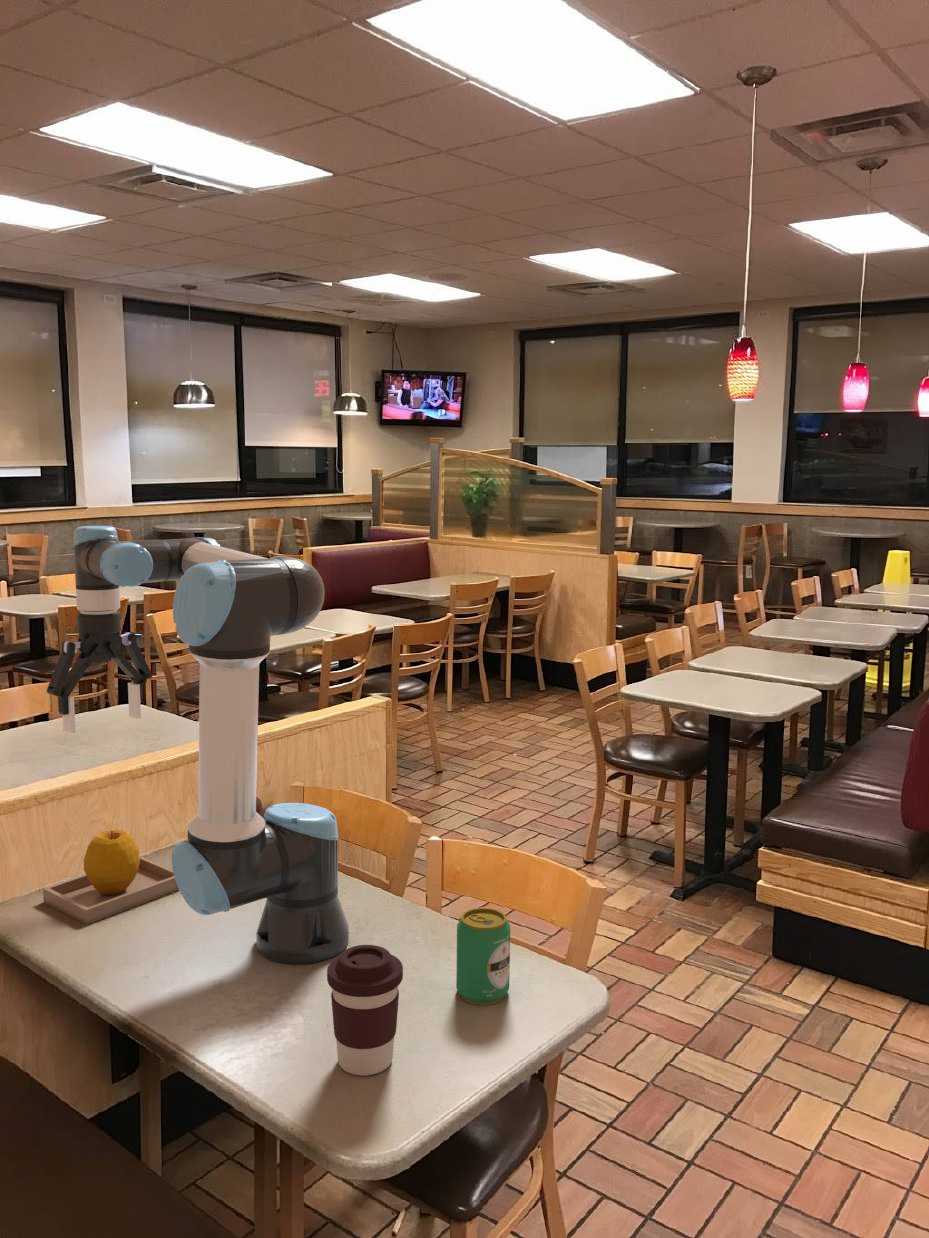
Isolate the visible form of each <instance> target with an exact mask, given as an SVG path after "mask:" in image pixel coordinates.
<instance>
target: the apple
mask: <svg viewBox="0 0 929 1238" xmlns="http://www.w3.org/2000/svg"><path fill="white" fill-rule="evenodd" d="M139 851H140V850H139V847H138V845H137V843H136V841H135V839H134V838H133V837H132V836H131V834H130V833H128V832H127V831H125V830H122V829H121V830H120V829H113V830H104V831H101V832H100V833H97V834H96V835H95V836H94V837H92V839H91V841H90V842H89V845H88V846H87V848H86V851H85V855H84V858H83V870H84V873H85V874H86V875H87V877H88V879H89V881H90V882H91V884H92V885H93V886H94V888H95V889H96V890H97V891H98V892H99V893H101V894H104V895H109V894H116V893H120V892H122V891H124V890H126V889H127V888H128V887H129V885H130V884H131V883H132V881H133V880H134V878H135V876H136V874H137V872H138V868H139V864H140V856H141V855H140V852H139Z"/></svg>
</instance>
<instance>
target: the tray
mask: <svg viewBox="0 0 929 1238" xmlns="http://www.w3.org/2000/svg"><path fill="white" fill-rule="evenodd" d="M139 856H140V864H139V868H138V872H137V874H136V876H135V878H134V880H133V881H132V883H131V884H130V885H129V887H128V888H127V889H126V890H124V891H122V892H120V893H116V894H109V895H104V894H101V893H99V892H98V891H97V890H96V889H95V888H94V886H93V885H92V884H91V882H90V881H89V879H88V877H87V875H86V873H85V874H84V873H83V874H81V875H79V876H76V877H73V878H69V879H67V880H64V881H61V882H58V883H55V884H52V885H48V886H47V887H43V888H42V895H43V898H42V899H43V903H45V904H46V905H48V906H50V907H52V908H53V909H56V910H57V911H60V912H62V913H64V914H66V915H67V916H69V917H72V918H73V919H75V920H77V921H79V922H80V923H83V924H84V925H89V924H92V923H94V922H97V921H101V920H102V919H105V918H108V917H111V916H114V915H116V914H119V913H121V912H123V911H127V910H129V909H132V908H134V907H137V906H141V905H143V904H146V903H148V902H150V901H153V900H155V899H156V900H157V899H158V898H161V897H163V896H166V895H169V894H171V893H174V892H177V891H180V890H179V888H178V886H177V883H176V880H175V877H174V873H173V868H170V867H167V866H165V865H163V864H161V863H158V862H155V861H153V860H150V859H149V858H146V857H144V856H142V855H139Z"/></svg>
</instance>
